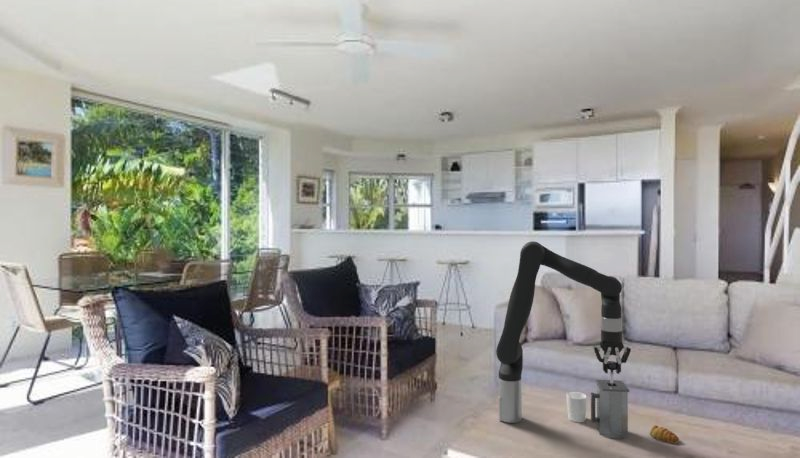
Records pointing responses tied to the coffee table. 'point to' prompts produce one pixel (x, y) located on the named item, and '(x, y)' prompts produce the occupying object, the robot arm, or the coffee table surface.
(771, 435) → the coffee table surface
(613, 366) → the plunger
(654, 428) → the pastry
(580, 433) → the coffee table surface
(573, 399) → the white cup
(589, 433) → the coffee table surface
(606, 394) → the square french press
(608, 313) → the robot arm
